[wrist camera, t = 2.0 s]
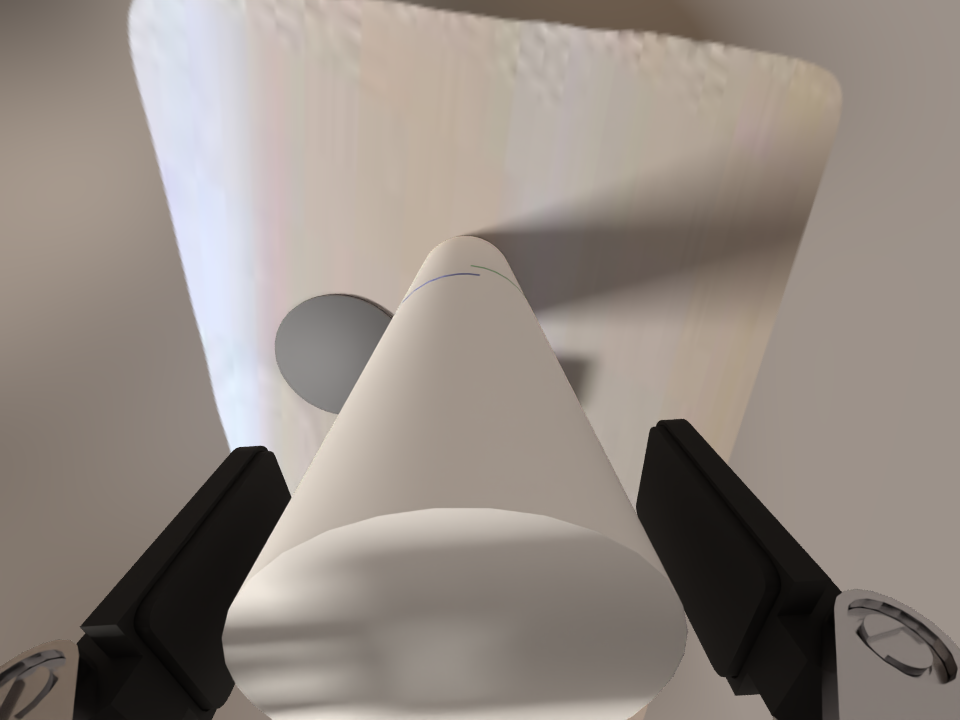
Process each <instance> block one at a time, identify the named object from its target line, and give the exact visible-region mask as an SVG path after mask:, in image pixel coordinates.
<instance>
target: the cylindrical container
mask: <svg viewBox="0 0 960 720" xmlns="http://www.w3.org/2000/svg"><path fill="white" fill-rule="evenodd" d="M687 633H688V630H687V624H686V620H685V613H684V608H683V604H682V603H681V601H680V599H679V597H678V595H677V593H676V591H675V589H674V587H673V585H672V583H671V581H670V579H669V577H668V575H667V573H666V571H665V569H664V567H663V565H662V563H661V561H660V559H659V557H658V555H657V554H656V552H655V550H654V548H653V546H652V544H651V542H650V540H649V538H648V536H647V534H646V532H645V530H644V528H643V526H642V524H641V522H640V520H639V518H638V516H637V514H636V512H635V510H634V508H633V507H632V505H631V503H630V501H629V499H628V497H627V495H626V493H625V491H624V489H623V487H622V485H621V483H620V481H619V479H618V477H617V475H616V473H615V471H614V469H613V467H612V465H611V463H610V461H609V459H608V458H607V456H606V454H605V452H604V450H603V448H602V446H601V444H600V442H599V440H598V438H597V436H596V434H595V432H594V430H593V428H592V426H591V424H590V422H589V420H588V418H587V416H586V414H585V412H584V410H583V409H582V407H581V405H580V403H579V401H578V399H577V397H576V395H575V393H574V391H573V389H572V387H571V385H570V383H569V381H568V379H567V377H566V375H565V373H564V371H563V369H562V367H561V365H560V363H559V362H558V360H557V358H556V356H555V354H554V352H553V350H552V348H551V346H550V344H549V342H548V340H547V338H546V336H545V334H544V332H543V330H542V328H541V326H540V324H539V322H538V320H537V318H536V316H535V314H534V313H533V311H532V309H531V307H530V305H529V303H528V301H527V299H526V297H525V295H524V294H523V292H522V290H521V288H520V286H519V284H518V282H517V280H516V278H515V276H514V274H513V272H512V270H511V268H510V266H509V264H508V262H507V260H506V259H505V257H504V255H503V254H502V253H501V252H500V251H499V249H498V248H496V247H495V246H494V245H492V244H491V243H490V242H488V241H486V240H483V239H481V238H478V237H473V236H458V237H453V238H450V239H448V240H445V241H444V242H442V243H440V244H439V245H437V246H436V247H435V248H434V249H433V250H432V251H431V252H430V253H429V255H428V256H427V258H426V260H425V261H424V263H423V265H422V267H421V268H420V270H419V272H418V274H417V276H416V277H415V279H414V281H413V283H412V285H411V286H410V288H409V290H408V292H407V293H406V295H405V297H404V299H403V300H402V302H401V304H400V306H399V307H398V309H397V311H396V313H395V315H394V316H393V318H392V320H391V322H390V323H389V325H388V327H387V329H386V331H385V332H384V334H383V336H382V338H381V340H380V341H379V343H378V345H377V347H376V348H375V350H374V352H373V354H372V356H371V357H370V359H369V361H368V363H367V365H366V366H365V368H364V370H363V372H362V374H361V375H360V377H359V379H358V381H357V383H356V384H355V386H354V388H353V390H352V391H351V393H350V395H349V397H348V399H347V400H346V402H345V404H344V406H343V407H342V409H341V411H340V413H339V414H338V416H337V418H336V420H335V422H334V423H333V425H332V427H331V429H330V430H329V432H328V434H327V436H326V438H325V439H324V441H323V443H322V445H321V446H320V448H319V450H318V452H317V454H316V455H315V457H314V459H313V461H312V462H311V464H310V466H309V468H308V469H307V471H306V473H305V475H304V477H303V478H302V480H301V482H300V484H299V485H298V487H297V489H296V491H295V493H294V494H293V496H292V498H291V500H290V501H289V503H288V505H287V507H286V508H285V510H284V512H283V514H282V516H281V517H280V519H279V521H278V523H277V524H276V526H275V528H274V530H273V532H272V533H271V535H270V537H269V539H268V540H267V542H266V544H265V546H264V548H263V549H262V551H261V553H260V555H259V556H258V558H257V560H256V562H255V563H254V565H253V567H252V569H251V571H250V572H249V574H248V576H247V578H246V579H245V581H244V583H243V585H242V587H241V588H240V590H239V592H238V594H237V595H236V597H235V599H234V601H233V602H232V604H231V606H230V608H229V610H228V614H227V618H226V622H225V626H224V630H223V634H222V644H223V651H224V658H225V664H226V666H227V668H228V670H229V672H230V674H231V676H232V678H233V680H234V682H235V684H236V685H237V687H238V688H239V689H240V690H241V691H242V692H243V694H244V695H245V696H246V697H247V698H248V699H249V701H251V703H252V704H253V705H254V706H255V707H257V708H258V709H259V710H261V711H262V712H263V713H265V714H266V715H267V716H269V717H270V718H271V719H273V720H626V719H628V718H629V717H631V716H633V715H634V714H635V713H637V712H638V711H639V710H640V709H642V708H643V707H644V706H645V705H647V704H648V703H649V702H650V701H651V700H653V699H654V698H655V697H656V696H657V695H658V694H659V693H660V691H661V690H662V689H663V688H664V687H665V686H666V684H667V683H668V682H669V681H670V680H671V678H672V677H673V676H674V674H675V672H676V670H677V668H678V666H679V664H680V662H681V660H682V657H683V656H684V652H685V646H686V639H687Z"/></svg>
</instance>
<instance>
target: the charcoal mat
mask: <svg viewBox="0 0 960 720" xmlns="http://www.w3.org/2000/svg"><path fill="white" fill-rule="evenodd" d="M391 320H392V319H391V317H390V316H388V315H387V314H386V313H385V312H384V311H382V310H381V309H379V308H378V307H376V306H375V305H373V304H371V303H369V302H367V301H364V300H362V299H359V298H355V297H351V296H346V295H323V296H318V297H315V298H311V299H309V300H307V301H305V302H303V303H301V304H300V305H298V306H296V307H295V308H294V309H293V310H292V311H290V312H289V313H288V314H287V316H286V317H285V318H284V319H283V321H282V323H281V324H280V326H279V329H278V331H277V334H276V340H275V355H276V360H277V364H278V367H279V369H280V371H281V374H282V375H283V377H284V379H285V380H286V382H287V383H288V384H289V386H290V387H291V388H292V389H293V390H294V391H295V392H296V393H297V394H298V395H299V396H300V397H301V398H303V399H304V400H306V401H307V402H308V403H310V404H312V405H314V406H315V407H317V408H320V409H322V410H324V411H327V412H331V413H334V414H339V413H340V411H341V409H342V407H343V406H344V404H345V402H346V400H347V399H348V397H349V395H350V393H351V391H352V390H353V388H354V386H355V384H356V383H357V381H358V379H359V377H360V375H361V374H362V372H363V370H364V368H365V366H366V365H367V363H368V361H369V359H370V357H371V356H372V354H373V352H374V350H375V348H376V347H377V345H378V343H379V341H380V340H381V338H382V336H383V334H384V332H385V331H386V329H387V327H388V325H389V323H390V322H391Z"/></svg>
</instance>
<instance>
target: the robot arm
mask: <svg viewBox="0 0 960 720" xmlns="http://www.w3.org/2000/svg"><path fill="white" fill-rule="evenodd" d="M291 498H292V497H291V495H290V492H289V490H288V487H287V485H286V482H285V480H284V477H283V475H282V472H281V470H280V467H279V465H278V462H277V459H276V457H275V455H274V453H273V452H271V451H268V450H267V448H266V447H264V446H250V447H239V448H236V449H235V450H233V451H232V452H231V454H230V455H229V456H228V457H227V458H226V459H225V460H224V462H223V463H222V464H221V465H220V466H219V467H218V469H217V470H216V471H215V472H214V473H213V474H212V476H211V477H210V478H209V479H208V480H207V481H206V482H205V484H204V485H203V486H202V487H201V488H200V489H199V490H198V492H197V493H196V494H195V495H194V496H193V497H192V499H191V500H190V501H189V502H188V503H187V504H186V506H185V507H184V508H183V509H182V510H181V511H180V512H179V513H178V515H177V516H176V517H175V518H174V519H173V520H172V521H171V523H170V524H169V525H168V526H167V527H166V528H165V530H164V531H163V532H162V533H161V534H160V535H159V536H158V538H157V539H156V540H155V541H154V542H153V543H152V544H151V546H150V547H149V548H148V549H147V550H146V551H145V553H144V554H143V555H142V556H141V557H140V558H139V560H138V561H137V562H136V563H135V564H134V566H132V568H131V569H130V570H129V571H128V572H127V573H126V574H125V576H124V577H123V578H122V579H121V580H120V581H119V582H118V584H117V585H116V586H115V587H114V588H113V589H112V591H111V592H110V593H109V594H108V595H107V596H106V598H105V599H104V600H103V601H102V602H101V603H100V604H99V606H98V607H97V608H96V609H95V610H94V611H93V612H92V614H91V615H90V616H89V617H88V618H87V619H86V620H85V622H84V623H83V624H82V625H81V626H80V627H81V629H82V630H83V631H84V632H85V635H84V636H83V637H82V638H81V639H80V640H79V642H78V643H77V644H75V643H74V642H72V641H71V640H62V639H58V640H54V641H50V642H46V643H42V644H40V645H38V646H35V647H33V648H31V649H29V650H27V651H25V652H22V653H21V654H19V655H17V656H16V657H14V658H13V659H11V660H9V661H8V662H6V663H5V664H3V665H1V666H0V720H212V718H213V716H214V714H215V712H216V709H218V708H220V707H221V706H223V705H224V703H225V702H226V701H227V699H228V697H229V695H230V694H231V691H232V689H233V687H234V685H235V682H234V680H233V678H232V676H231V674H230V672H229V670H228V668H227V666H226V664H225V658H224V651H223V644H222V634H223V630H224V626H225V622H226V618H227V614H228V610H229V608H230V606H231V604H232V602H233V601H234V599H235V597H236V595H237V594H238V592H239V590H240V588H241V587H242V585H243V583H244V581H245V579H246V578H247V576H248V574H249V572H250V571H251V569H252V567H253V565H254V563H255V562H256V560H257V558H258V556H259V555H260V553H261V551H262V549H263V548H264V546H265V544H266V542H267V540H268V539H269V537H270V535H271V533H272V532H273V530H274V528H275V526H276V524H277V523H278V521H279V519H280V517H281V516H282V514H283V512H284V510H285V508H286V507H287V505H288V503H289V501H290V500H291ZM636 510H637V515H638V518H639V520H640V522H641V524H642V526H643V528H644V530H645V532H646V534H647V536H648V538H649V540H650V542H651V544H652V546H653V548H654V550H655V552H656V554H657V555H658V557H659V559H660V561H661V563H662V565H663V567H664V569H665V571H666V573H667V575H668V577H669V579H670V581H671V583H672V585H673V587H674V589H675V591H676V593H677V595H678V597H679V599H680V601H681V603H682V604H683V608H684V611H685V612H686V615H687V617H688V619H689V621H690V622H691V624H692V626H693V629H694V631H695V632H696V634H697V636H698V638H699V641H700V643H701V645H702V646H703V648H704V650H705V652H706V654H707V657H708V658H709V660H710V663H711V664H712V666H713V668H714V670H715V671H716V672H717V674H718V675H720V676H721V677H726V679H727V680H728V682H729V684H730V686H731V688H732V690H733V692H734V694H735V695H736V696H737V695H754V694H760V695H761V697H762V699H763V700H764V702H765V704H766V706H767V707H768V709H769V711H770V713H771V715H772V716H773V720H960V649H959V648H958V646H957V645H956V644H955V643H954V642H953V641H952V639H951V638H950V637H949V636H948V635H946V634H945V633H944V632H943V631H942V630H941V629H940V628H939V627H937V626H936V625H935V624H934V623H933V622H932V621H930V620H929V619H927V618H925V617H924V616H923V615H921V614H920V613H918V612H917V611H915V610H914V609H912V608H911V607H909V606H907V605H905V604H903V603H901V602H899V601H897V600H895V599H893V598H891V597H888V596H885V595H882V594H879V593H876V592H873V591H868V590H860V589H853V590H847V591H843V592H841V591H840V590H839V588H838V587H837V586H836V585H835V584H834V583H833V582H832V581H831V579H830V578H829V577H828V575H827V574H826V573H825V572H824V571H823V570H822V569H821V568H820V567H819V565H818V564H817V563H816V562H815V561H814V560H813V559H812V558H811V557H810V556H809V554H808V553H807V552H806V551H805V550H804V549H803V548H802V547H801V546H800V544H798V542H797V541H796V540H795V539H794V538H793V537H792V536H791V535H790V533H788V531H787V530H786V529H785V528H784V527H783V526H782V525H781V524H780V522H779V521H778V520H777V519H776V518H775V517H774V516H773V515H772V514H771V513H770V512H769V510H768V509H767V508H766V507H765V506H764V505H763V504H762V503H761V501H760V500H759V499H758V498H757V497H756V496H755V495H754V494H753V493H752V492H751V491H750V489H749V488H748V487H747V486H746V485H745V484H744V483H743V482H742V480H741V479H740V478H739V477H738V476H737V475H736V474H735V473H734V472H733V471H732V469H731V468H730V467H729V466H728V465H727V464H726V463H725V462H724V461H723V459H722V458H721V457H720V456H719V455H718V454H717V453H716V452H715V451H714V449H713V448H712V447H711V446H710V445H709V444H708V443H707V442H706V441H705V440H704V438H703V437H702V436H701V435H700V434H699V433H698V432H697V431H696V430H695V429H694V427H693V426H692V425H691V424H690V423H689V422H688V421H687V420H685V419H674V420H661V421H659V422H658V423H657V425H656V427H652V428H651V429H650V432H649V438H648V443H647V448H646V454H645V459H644V465H643V470H642V476H641V481H640V486H639V492H638V497H637V503H636Z"/></svg>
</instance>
